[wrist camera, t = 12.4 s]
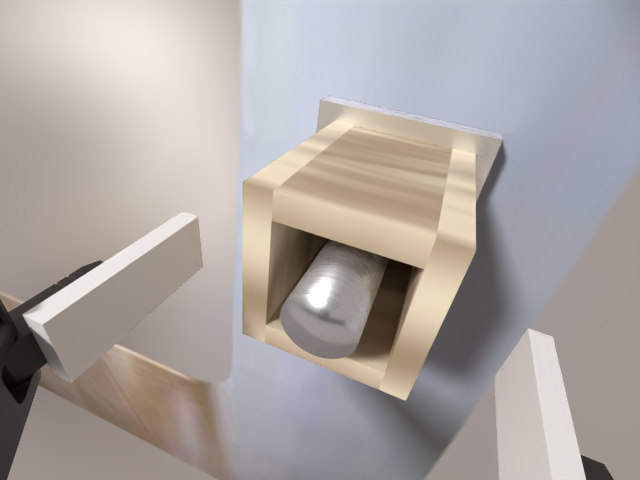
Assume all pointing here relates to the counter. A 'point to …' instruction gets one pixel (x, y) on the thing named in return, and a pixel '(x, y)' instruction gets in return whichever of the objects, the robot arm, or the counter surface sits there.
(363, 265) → the post stand
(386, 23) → the counter surface
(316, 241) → the birch sleeve
